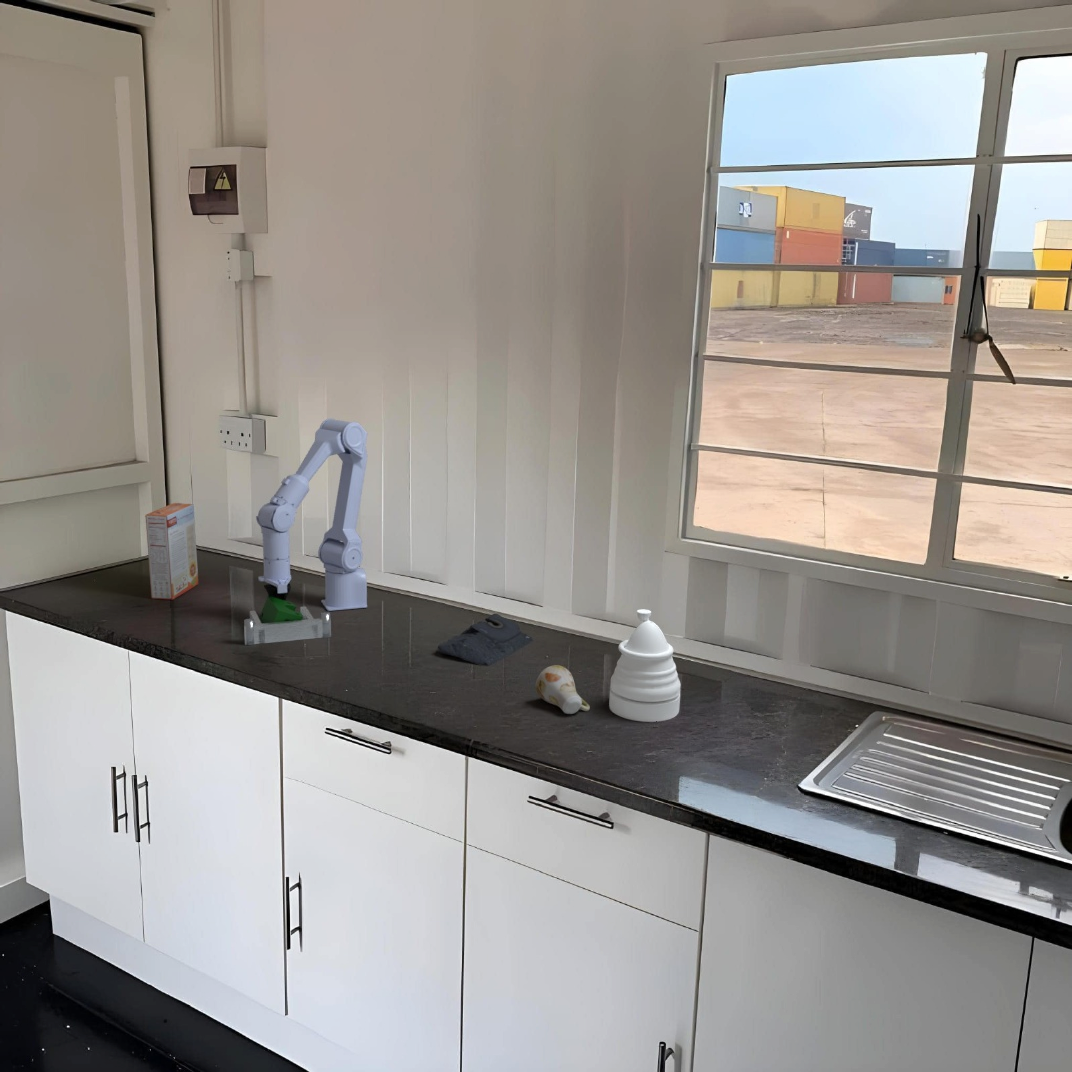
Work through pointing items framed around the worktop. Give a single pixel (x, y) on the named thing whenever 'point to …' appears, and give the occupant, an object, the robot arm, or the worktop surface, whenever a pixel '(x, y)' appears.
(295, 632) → the dock
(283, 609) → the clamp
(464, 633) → the folded dark cloth
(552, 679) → the mug
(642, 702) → the honey pot
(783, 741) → the worktop surface
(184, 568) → the cracker box
